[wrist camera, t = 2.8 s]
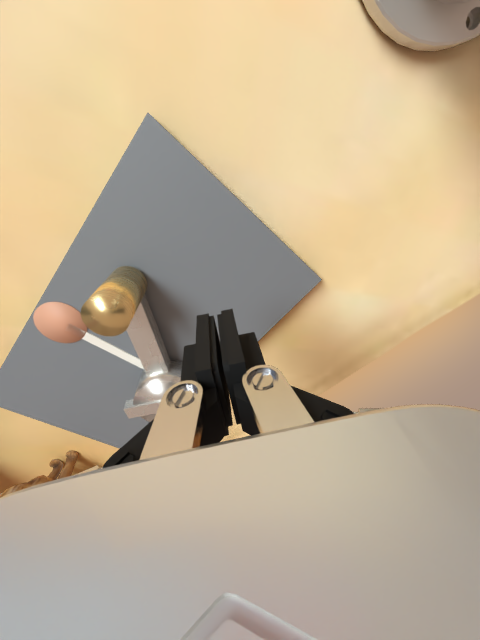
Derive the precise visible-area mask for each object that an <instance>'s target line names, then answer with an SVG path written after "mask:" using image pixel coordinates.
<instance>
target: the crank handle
mask: <svg viewBox="0 0 480 640" xmlns="http://www.w3.org/2000/svg"><path fill="white" fill-rule="evenodd" d="M147 286H148V284H147V279H146V277H145V276H144V274H143V273H142V272H141V271H140V270H138V269H136V268H134V267H131V266H121V267H118V268H117V269H115V270H114V271H113V272H112V273H111V275H110V276H109V277H108V278H107V279H106V280H105V281H104V282H103V283H102V284H101V286H100V287H99V288H98V289H97V290H96V291H95V292H94V293H93V294H92V295H91V296H90V298H89V299H88V300H87V301H86V302H85V303H84V304H83V306H82V308H81V318H82V321H83V322H84V324H85V325H86V326H87V327H88V328H89V329H90V330H91V331H93V332H94V333H96V334H99V335H102V336H117V335H120V334H122V333H123V332H125V331H127V333H128V335H129V337H130V339H131V342H132V344H133V346H134V348H135V350H136V352H137V355H138V357H139V359H140V361H141V363H142V365H143V368H144V370H143V372H142V374H141V377H140V381H139V384H138V387H137V390H136V393H135V396H134V399H129V400H126V403H125V406H124V409H123V410H124V411H125V413H126V415H127V417H128V418H129V419H130V418H135V417H141V418H143V419H144V420H146V421H149V422H151V421H152V420H153V419H154V418H155V416H156V413H157V410H158V407H159V405H160V402H161V399H162V397H163V395H164V393H165V392H166V391H167V390H168V389H169V388H170V387H171V386H173V385H174V384H176V383H178V382H180V380H181V370H182V362H180V361H177V360H173V359H169V356H168V353H167V351H166V348H165V345H164V343H163V340H162V338H161V335H160V332H159V330H158V327H157V324H156V322H155V319H154V317H153V314H152V311H151V309H150V306H149V303H148V301H147V298H146V296H145V292H146V290H147Z"/></svg>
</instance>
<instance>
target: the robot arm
mask: <svg viewBox="0 0 480 640" xmlns="http://www.w3.org/2000/svg"><path fill="white" fill-rule="evenodd" d="M362 1H363V3H364V5H365V8H366V10H367V12H368V14H369V15H370V16H371V18H372V19H373V20H374V22H375V23H376V24H377V26H378V27H379V28H380V29H381V31H382V32H383V33H385V34H386V35H387V36H389V37H390V38H391V39H392V40H394V41H395V42H396V43H398V44H400V45H403V46H405V47H408V48H411V49H413V50H420V51H438V50H442V49H447V48H452V47H455V46H457V45H459V44H461V43H464V42H466V41H468V40H470V39H472V38H475V37H477V36H478V35H480V0H362ZM217 319H218V328H219V336H218V332H217V327H216V323H215V319H214V315H213V316H209V313H208V314H203V315H197V320H196V344H191V345H186V346H184V352H183V361H182V370H181V380H180V382H178V383H176V384H174V385H173V386H171V387H170V388H169V389H168V390H167V391H166V392H165V393H164V395H163V397H162V399H161V402H160V405H159V407H158V410H157V413H156V416H155V418H154V419H153V420H152V421H151V422H150V423H148V424H147V425H146V426H145V427H144V428H143V429H142V430H140V431H139V432H138V433H137V434H136V435H135V436H134V437H133V438H131V439H130V440H129V441H128V442H127V443H126V444H125V445H124V446H122V447H121V448H120V449H119V450H118V451H117V452H116V453H115V454H113V455H112V456H111V457H110V458H109V459H108V461H107V462H106V463H105V464H104V466H103V467H101V468H100V467H99V466H98V465H97V466H94V467H92V468H90V469H87V470H85V471H82V472H80V473H78V474H75V475H72V476H68V477H64V478H60V479H56V480H53V481H49V482H45V483H42V484H38V485H34V486H31V487H28V488H25V489H22V490H19V491H16V492H13V493H10V494H8V495H5V496H3V497H1V498H0V640H480V410H476V409H472V408H466V407H460V406H450V405H440V404H437V405H436V404H435V405H434V404H432V405H431V404H430V405H429V404H428V405H421V404H420V405H407V406H397V407H391V408H369V409H368V408H365V409H359V411H358V412H352V411H350V410H349V409H347V408H346V407H344V406H341V405H339V404H336V403H333V402H331V401H329V400H326V399H323V398H321V397H318V396H316V395H313V394H311V393H308V392H306V391H303V390H300V389H298V388H295V387H293V386H290V384H289V383H288V381H287V380H286V378H285V377H284V375H283V374H282V372H281V371H280V370H279V369H278V368H276V367H274V366H270V365H265V362H264V359H263V356H262V353H261V350H260V347H259V344H258V341H257V338H256V335H255V333H254V332H251V333H246V334H241V335H238V330H237V326H236V322H235V318H234V313H233V309H228V310H223V311H221V314H218V315H217ZM219 337H220V340H219ZM229 394H230V398H231V403H232V407H233V411H234V415H235V419H236V423H237V424H241V425H242V429H243V431H244V432H246V433H248V434H250V435H251V436H247V437H242V438H238V439H233V440H228V441H224V442H220V441H221V440H222V439H223V437H224V436H227V435H229V432H228V426H232V425H233V423H232V415H231V407H230V399H229Z"/></svg>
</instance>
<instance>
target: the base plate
mask: <svg viewBox="0 0 480 640" xmlns="http://www.w3.org/2000/svg"><path fill="white" fill-rule="evenodd" d="M121 266H131V267H134V268H136V269H138V270H140V271H141V272H142V273H143V274H144V276H145V277H146V279H147V284H148V286H147V290H146V292H145V296H146V298H147V301H148V303H149V306H150V309H151V311H152V314H153V317H154V319H155V322H156V324H157V327H158V330H159V332H160V335H161V338H162V340H163V343H164V345H165V348H166V351H167V353H168V356H169V359H173V360H177V361H180V362H182V361H183V352H184V346H186V345H191V344H196V320H197V315H203V314H208V313H209V316H213V315H214V319H215V323H216V327H217V332H218V336H219V328H218V319H217V315H218V314H221V311H223V310H228V309H233V313H234V318H235V322H236V326H237V330H238V335H241V334H246V333H251V332H254V333H255V335H256V338H257V341H259V340H260V339H261V338H262V337H263V336H264V335H265V334H266V333H267V332H268V331H269V330H270V329H271V328H272V327H273V326H274V325H275V324H276V323H277V322H278V321H280V320H281V319H282V318H283V317H284V316H285V315H286V314H287V313H288V312H289V311H290V310H291V309H292V308H293V307H294V306H295V305H296V304H297V303H298V302H299V301H300V300H301V299H302V298H303V297H304V296H305V295H306V294H307V293H308V292H309V291H311V290H312V289H313V288H314V287H315V286H316V285H317V284H318V283H319V282H320V281H321V280H322V279H321V278H320V277H319V276H318V275H317V274H316V273H314V272H313V271H312V270H311V269H310V268H309V267H308V266H307V265H306V264H305V263H304V262H303V261H302V260H301V259H300V258H299V257H298V256H297V255H296V254H295V253H294V252H293V251H292V250H291V249H289V248H288V247H287V246H286V245H285V244H284V243H283V242H282V241H281V240H280V239H279V238H278V237H277V236H276V235H275V234H274V233H273V232H272V231H271V230H270V229H269V228H268V227H267V226H266V225H264V224H263V223H262V222H261V221H260V220H259V219H258V218H257V217H256V216H255V215H254V214H253V213H252V212H251V211H250V210H249V209H248V208H247V207H246V206H245V205H244V204H243V203H242V202H241V201H239V200H238V199H237V198H236V197H235V196H234V195H233V194H232V193H231V192H230V191H229V190H228V189H227V188H226V187H225V186H224V185H223V184H222V183H221V182H220V181H219V180H218V179H217V178H216V177H214V176H213V175H212V174H211V173H210V172H209V171H208V170H207V169H206V168H205V167H204V166H203V165H202V164H201V163H200V162H199V161H198V160H197V159H196V158H195V157H194V156H193V155H192V154H191V153H190V152H188V151H187V150H186V149H185V148H184V147H183V146H182V145H181V144H180V143H179V142H178V141H177V140H176V139H175V138H174V137H173V136H172V135H171V134H170V133H169V132H168V131H167V130H166V129H165V128H163V127H162V126H161V125H160V124H159V123H158V122H157V121H156V120H155V119H154V118H153V117H152V116H151V115H150V114H149V113H147V115H146V116H145V118H144V120H143V122H142V123H141V125H140V127H139V129H138V130H137V132H136V134H135V136H134V137H133V139H132V141H131V143H130V144H129V146H128V148H127V149H126V151H125V153H124V155H123V156H122V158H121V160H120V162H119V163H118V165H117V167H116V169H115V170H114V172H113V174H112V176H111V177H110V179H109V181H108V182H107V184H106V186H105V188H104V189H103V191H102V193H101V195H100V196H99V198H98V200H97V202H96V203H95V205H94V207H93V209H92V210H91V212H90V214H89V215H88V217H87V219H86V221H85V222H84V224H83V226H82V228H81V229H80V231H79V233H78V235H77V236H76V238H75V240H74V242H73V243H72V245H71V247H70V248H69V250H68V252H67V254H66V255H65V257H64V259H63V261H62V262H61V264H60V266H59V268H58V269H57V271H56V273H55V275H54V276H53V278H52V280H51V281H50V283H49V285H48V287H47V288H46V290H45V292H44V294H43V295H42V297H41V299H40V301H39V302H38V304H37V306H36V308H35V309H34V311H33V313H32V314H31V316H30V318H29V320H28V321H27V323H26V325H25V327H24V328H23V330H22V332H21V334H20V335H19V337H18V339H17V341H16V342H15V344H14V346H13V347H12V349H11V351H10V353H9V354H8V356H7V358H6V360H5V361H4V363H3V365H2V367H1V368H0V407H1V408H4V409H7V410H10V411H13V412H16V413H18V414H21V415H24V416H27V417H30V418H33V419H36V420H39V421H42V422H45V423H48V424H50V425H53V426H56V427H59V428H62V429H65V430H68V431H71V432H74V433H77V434H79V435H82V436H85V437H88V438H91V439H94V440H97V441H100V442H103V443H106V444H108V445H111V446H114V447H117V448H121V447H122V446H124V445H125V444H126V443H127V442H128V441H129V440H130V439H131V438H133V437H134V436H135V435H136V434H137V433H138V432H139V431H140V430H142V429H143V428H144V427H145V426H146V425H147V424H148V423H150V422H149V421H146V420H144V419H143V418H141V417H135V418H130V419H129V418H128V417H127V415H126V413H125V411H124V410H123V409H124V406H125V403H126V400H129V399H134V396H135V393H136V390H137V387H138V384H139V381H140V377H141V374H142V372H143V370H144V368H143V365H142V363H141V361H140V359H139V357H138V355H137V352H136V350H135V348H134V346H133V344H132V342H131V339H130V337H129V335H128V333H127V331H125V332H123V333H122V334H120V335H117V336H102V335H99V334H96V333H94V332H93V331H91V330H90V329H89V328H88V327H87V326H86V325H85V324H84V322H83V321H82V318H81V308H82V306H83V304H84V303H85V302H86V301H87V300H88V299H89V298H90V296H91V295H92V294H93V293H94V292H95V291H96V290H97V289H98V288H99V287H100V286H101V284H102V283H103V282H104V281H105V280H106V279H107V278H108V277H109V276H110V275H111V273H112V272H113V271H114V270H115V269H117V268H118V267H121ZM219 340H220V337H219Z"/></svg>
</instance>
